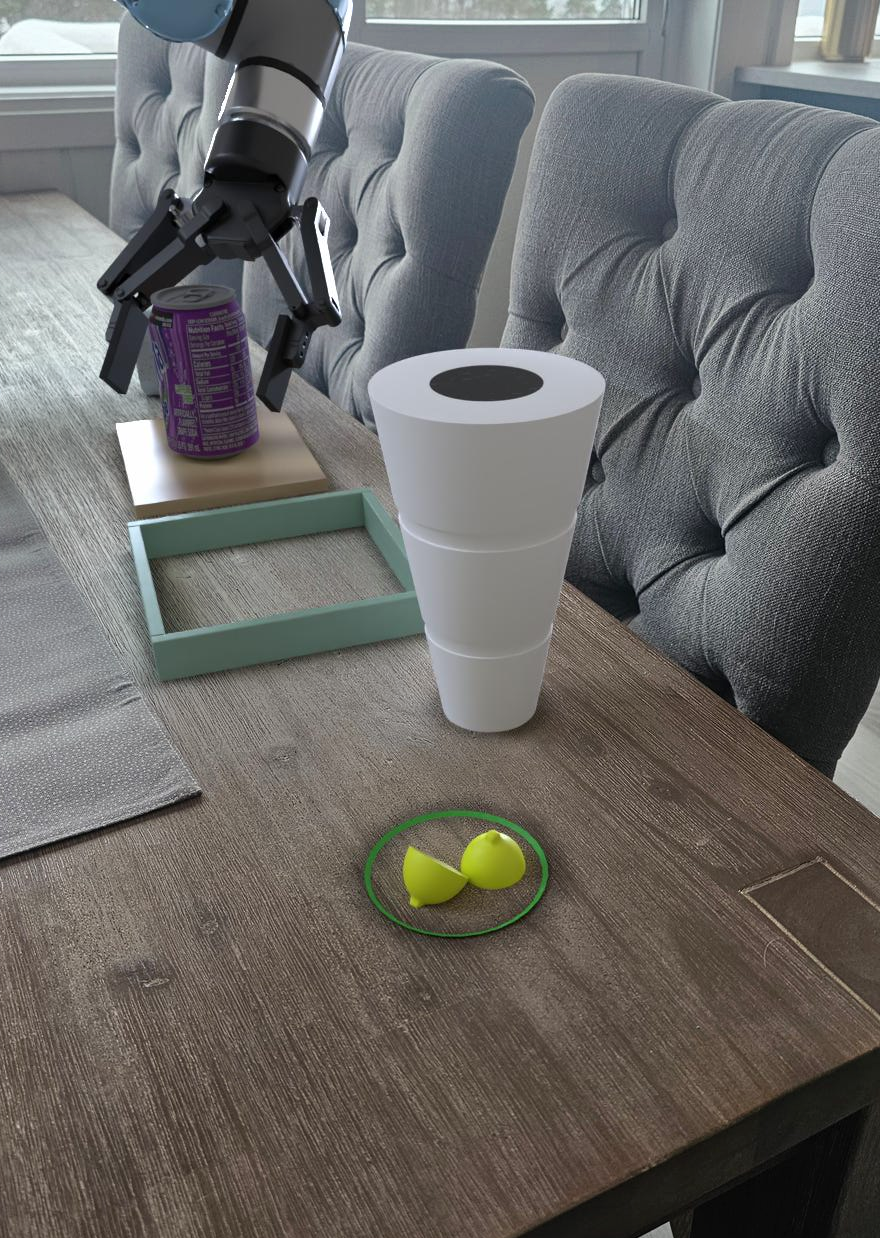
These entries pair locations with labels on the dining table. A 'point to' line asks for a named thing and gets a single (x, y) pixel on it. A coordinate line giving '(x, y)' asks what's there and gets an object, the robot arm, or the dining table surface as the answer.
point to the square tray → (281, 631)
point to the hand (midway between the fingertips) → (188, 395)
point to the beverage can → (203, 371)
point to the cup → (487, 511)
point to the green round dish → (482, 865)
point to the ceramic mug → (147, 365)
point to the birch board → (216, 468)
